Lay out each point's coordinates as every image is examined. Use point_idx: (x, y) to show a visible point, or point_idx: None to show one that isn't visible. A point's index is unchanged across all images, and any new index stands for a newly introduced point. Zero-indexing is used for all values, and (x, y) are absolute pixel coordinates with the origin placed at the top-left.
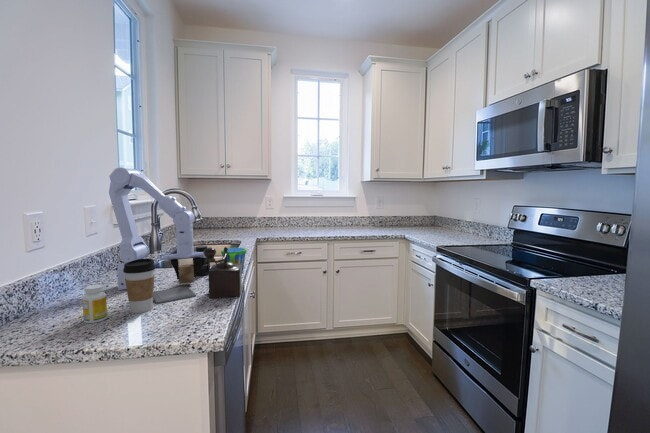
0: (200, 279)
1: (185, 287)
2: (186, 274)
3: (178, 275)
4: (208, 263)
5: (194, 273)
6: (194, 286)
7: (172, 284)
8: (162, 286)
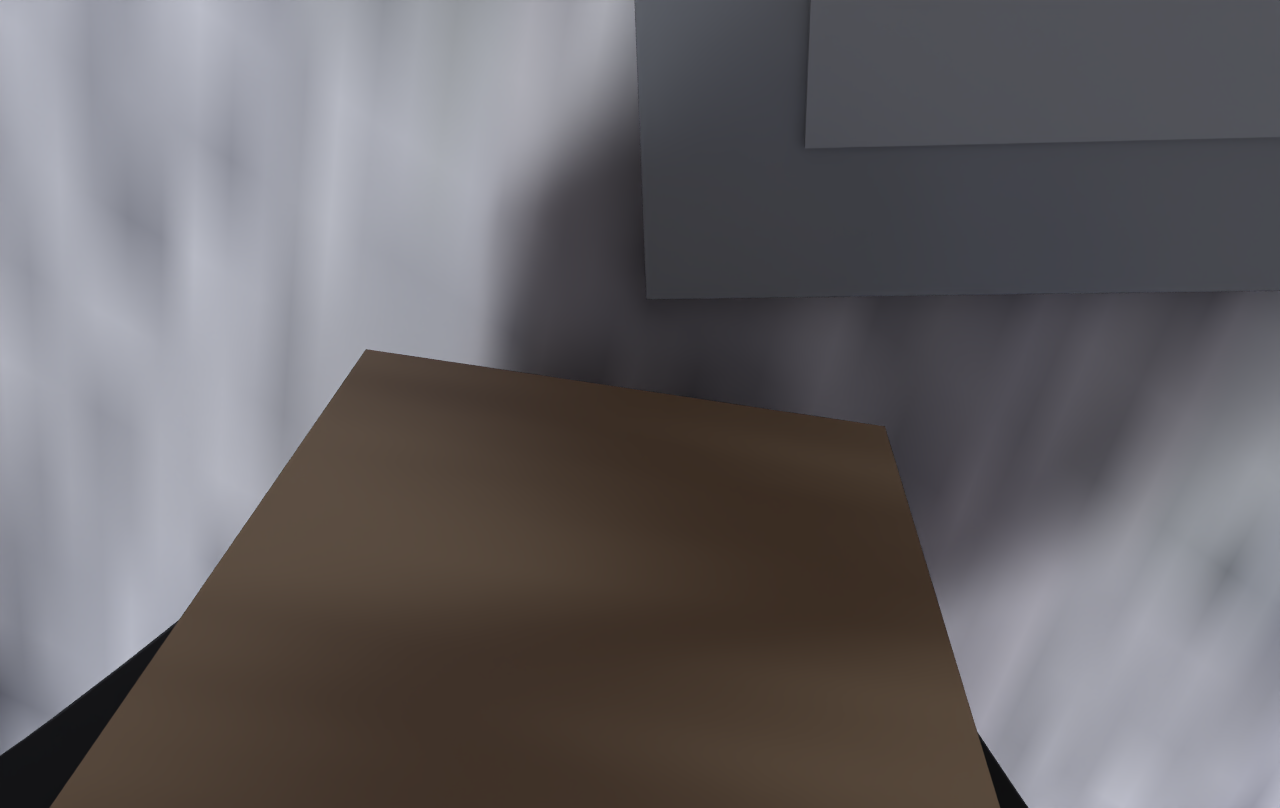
0: None
1: (737, 120)
2: (592, 629)
3: None
4: None
5: None
6: (401, 246)
7: None
8: (1192, 742)
